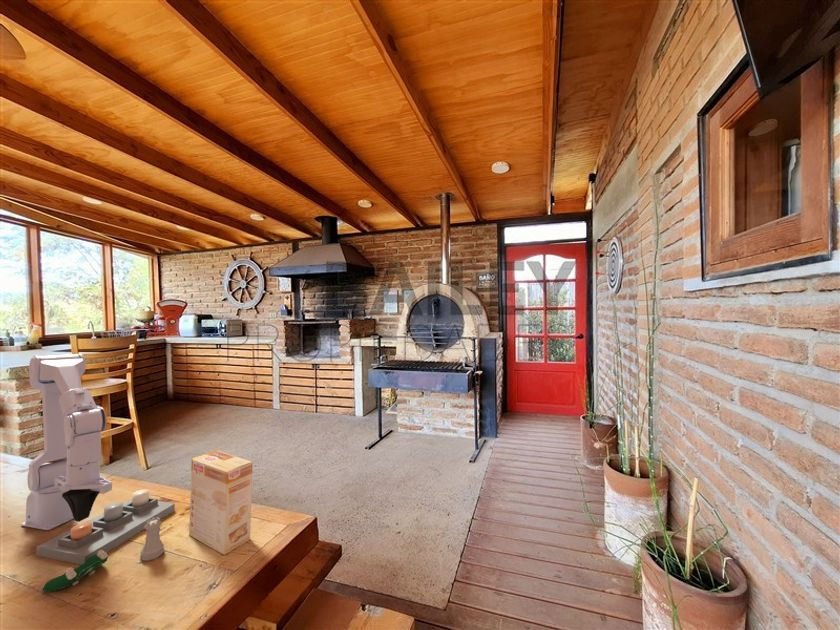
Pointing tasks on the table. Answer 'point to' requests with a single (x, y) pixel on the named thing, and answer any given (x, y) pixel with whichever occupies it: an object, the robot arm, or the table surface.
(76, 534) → the button terracotta
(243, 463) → the coffeecake box
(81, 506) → the robot arm
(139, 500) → the button ivory
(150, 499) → the panel
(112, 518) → the button light grey
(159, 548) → the rook chess piece
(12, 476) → the table surface
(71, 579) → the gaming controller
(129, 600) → the table surface
